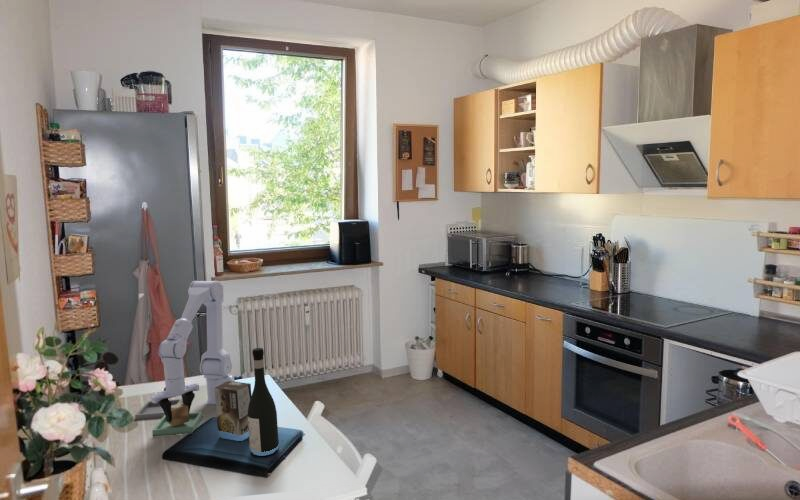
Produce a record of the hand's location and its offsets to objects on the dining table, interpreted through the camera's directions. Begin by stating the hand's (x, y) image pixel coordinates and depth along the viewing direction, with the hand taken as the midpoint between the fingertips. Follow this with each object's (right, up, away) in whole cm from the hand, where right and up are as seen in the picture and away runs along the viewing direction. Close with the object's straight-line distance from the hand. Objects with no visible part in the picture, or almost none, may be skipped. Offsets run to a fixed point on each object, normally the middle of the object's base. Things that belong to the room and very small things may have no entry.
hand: (178, 418), depth 176 cm
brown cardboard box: (0, -1, 0) cm, 1 cm away
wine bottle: (+32, -4, -19) cm, 38 cm away
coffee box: (+21, -3, -8) cm, 23 cm away
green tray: (0, -3, 0) cm, 3 cm away
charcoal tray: (-11, -2, +13) cm, 17 cm away
